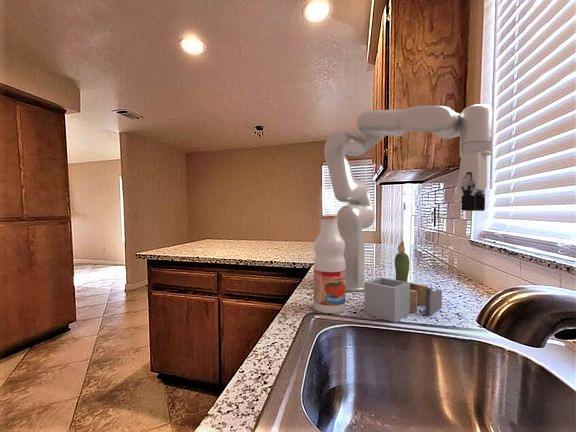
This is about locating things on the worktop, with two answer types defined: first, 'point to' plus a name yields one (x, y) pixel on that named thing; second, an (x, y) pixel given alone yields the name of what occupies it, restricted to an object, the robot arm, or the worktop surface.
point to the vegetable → (402, 264)
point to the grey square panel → (432, 301)
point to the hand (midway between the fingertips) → (473, 210)
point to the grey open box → (387, 299)
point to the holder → (417, 296)
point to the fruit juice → (329, 268)
